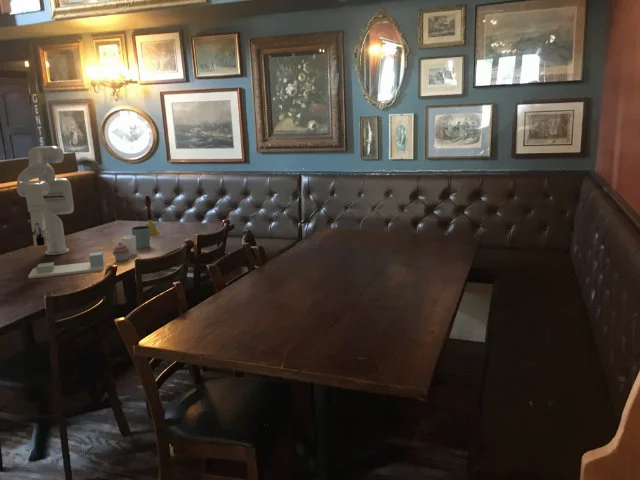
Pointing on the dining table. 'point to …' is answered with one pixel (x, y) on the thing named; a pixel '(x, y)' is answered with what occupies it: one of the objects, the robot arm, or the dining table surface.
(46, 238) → the beech block
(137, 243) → the teal plant pot
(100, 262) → the blue block
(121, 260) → the cupcake
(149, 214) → the handbell
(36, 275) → the build board
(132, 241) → the white cup
